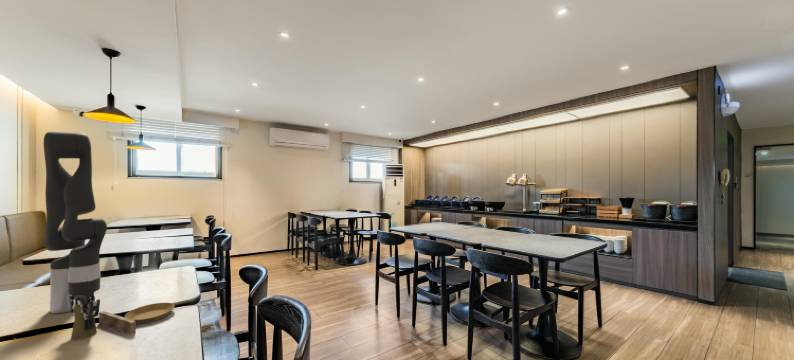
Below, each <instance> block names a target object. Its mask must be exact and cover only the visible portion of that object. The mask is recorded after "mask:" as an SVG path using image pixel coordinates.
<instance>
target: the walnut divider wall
mask: <svg viewBox="0 0 794 360" xmlns="http://www.w3.org/2000/svg"><path fill="white" fill-rule="evenodd" d="M98 324H100V325H103V326H106V327H109V328H112V329H113V330H114V329H115V330H118V331H120V332H123V333H126V334H129V335H134V334H136V329H137V328H136V324H137V323H136V321H134V320H130V319H127V318H125V316H124V317H123V316H121V315H118V314H114V313H111V312H107V311H105V310H103V311H99V315H98Z"/></svg>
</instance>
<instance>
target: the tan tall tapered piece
mask: <svg viewBox="0 0 794 360" xmlns="http://www.w3.org/2000/svg"><path fill="white" fill-rule="evenodd" d="M84 309H85V310H87V309H88V307H87V308H84ZM73 312H74V314H76V315H75V316H74V321H73V326H72V331H71V336H70V339H71V340H73V341H76V340H83V339H86V338H89V337H93V336H95V335H96V334H97V325H96V320H95V318H94V328H93V329H91V330H88V331H85V330H84V320H85V319H84V315H83V314H82V313H81V309H80V306H79V305H78V304H77V305H75V306H74V308H73ZM87 313H88V312H87ZM91 314H92V313H91Z"/></svg>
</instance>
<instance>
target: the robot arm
mask: <svg viewBox="0 0 794 360" xmlns="http://www.w3.org/2000/svg"><path fill="white" fill-rule="evenodd" d="M43 152H44V164H45V173H46V174H45V175H46V176H45V207H46V224H45V233H44V245H45V249H46V250H48V251H49V252H57V251H59V252H60V251H69V250H70V252H69V253H68V254H66V255H64V256H61V257H59V258H55V259H53V260H52V261H51V262H50V271H49V272H50V289H49V291H50V292H49V295H50V296H49V297H50V298H49V299H50V300H49V301H50V302H49V313H51V314H62V313H68V312H70V314H72V315H73V317H75V315H76V314H74V312H73V308H74V306H75V305H77V304H78V305H79V306H80V309H81V313H82V314H83V315H84V319H85V320H84V330H85V331H88V330H91V329H93V328H94V319H95V318H96V317H99V312H100V306H101V300H100V298H97V299H96V297H95V292H97V291H99V290H100V289H101V266H100V251H101V246H102V244H103V240H104V238H105V237H106V234H107V229H108V224H107V222H106V220H104V219H103V218H100V217H93V218H83V219H82V218H81V219H78V217H79V216H81V215H82V216H83V215H86V214H89V213H92V212H94V211H95V210H96V201H95V196H94V190H93V163H92V158H93V157H92V155H93V154H92V145H91V141H90V138H89V136H88V135H87V134H86V133H81V132H67V131H66V132H65V131H47V132H46V133H45V134H44V136H43ZM60 159H79V164H78V167H77V169H76V170H75V172H74V173H73V174H72V175H71V174H70V173H69V172H68V171H67V170H66V169H65V168H64V167H63V165H62V163H61V162H60ZM62 223H63V225H62V226H61V224H62ZM86 240H88V242H87V243H86ZM87 307H88V309H87V310H85V309H84V308H87ZM87 312H88V313H87ZM91 313H92V314H91Z"/></svg>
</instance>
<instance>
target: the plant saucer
mask: <svg viewBox="0 0 794 360" xmlns="http://www.w3.org/2000/svg"><path fill="white" fill-rule="evenodd" d="M174 308H175V304H174V303H172V302H156V303H150V304H145V305H143V306H139V307H136V308H134V309H132V310H130V311H128V312H127V313H126V314H125V315H124V318H127V319H130V320H134V321H136V324H149V323H152V322H155V321H158V320H161V319H164V318H165V317H167V316H168V315H170V313H171V312H172V310H174Z"/></svg>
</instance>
